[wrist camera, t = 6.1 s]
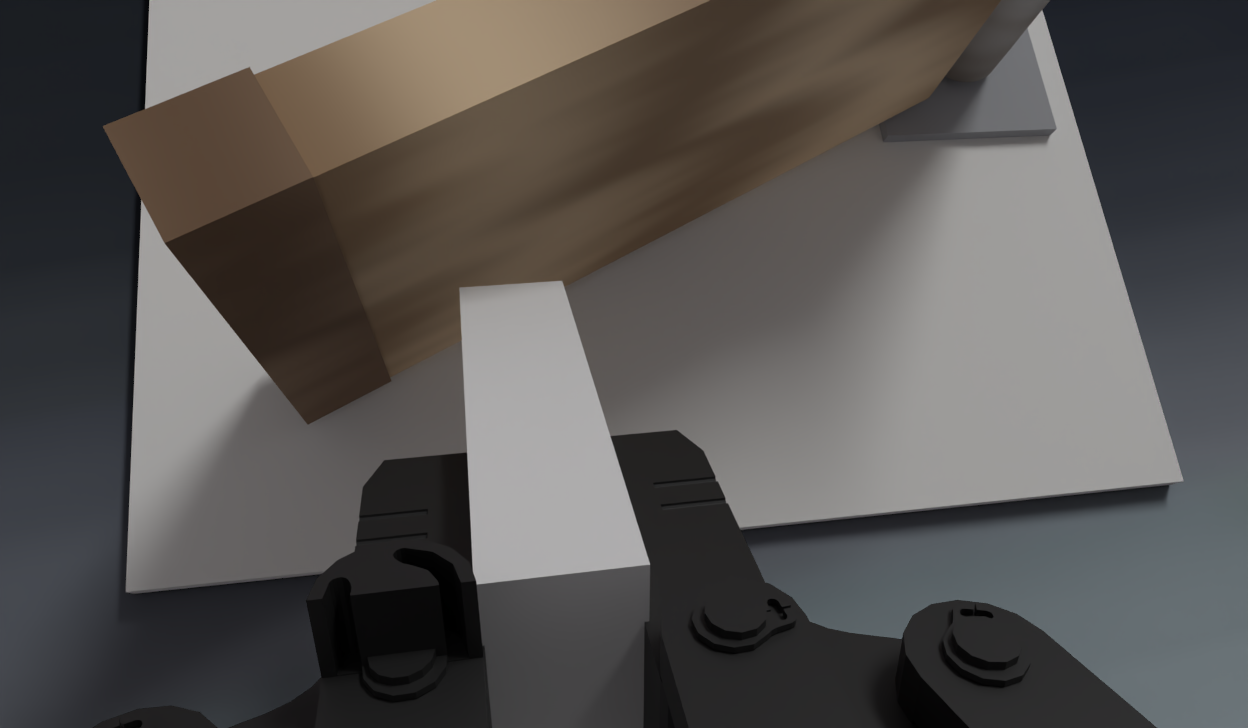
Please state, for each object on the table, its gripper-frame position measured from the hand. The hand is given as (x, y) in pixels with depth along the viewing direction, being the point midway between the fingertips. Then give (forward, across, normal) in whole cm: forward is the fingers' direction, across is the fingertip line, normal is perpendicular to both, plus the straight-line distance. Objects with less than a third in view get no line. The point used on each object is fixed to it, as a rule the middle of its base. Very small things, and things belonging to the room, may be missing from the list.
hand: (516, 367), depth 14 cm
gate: (+7, +4, 0) cm, 8 cm away
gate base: (+10, +4, +2) cm, 11 cm away
